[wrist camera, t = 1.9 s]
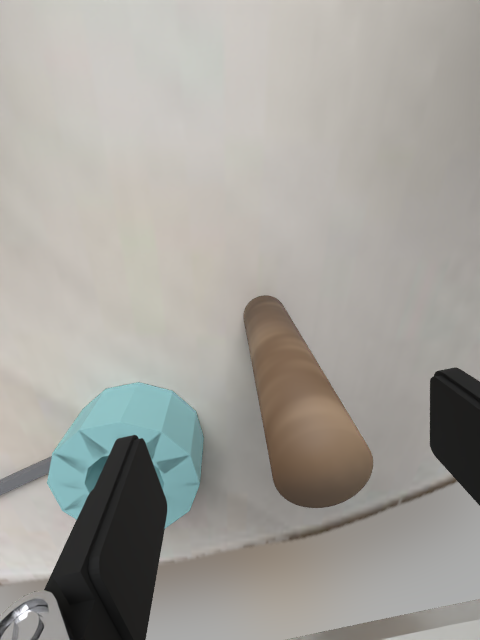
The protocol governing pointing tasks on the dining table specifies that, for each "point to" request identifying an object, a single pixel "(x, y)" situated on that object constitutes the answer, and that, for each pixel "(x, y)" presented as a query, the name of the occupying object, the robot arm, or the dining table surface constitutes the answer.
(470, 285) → the dining table surface
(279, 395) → the round-ended wooden dowel
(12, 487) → the thin grey bar
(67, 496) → the bead
